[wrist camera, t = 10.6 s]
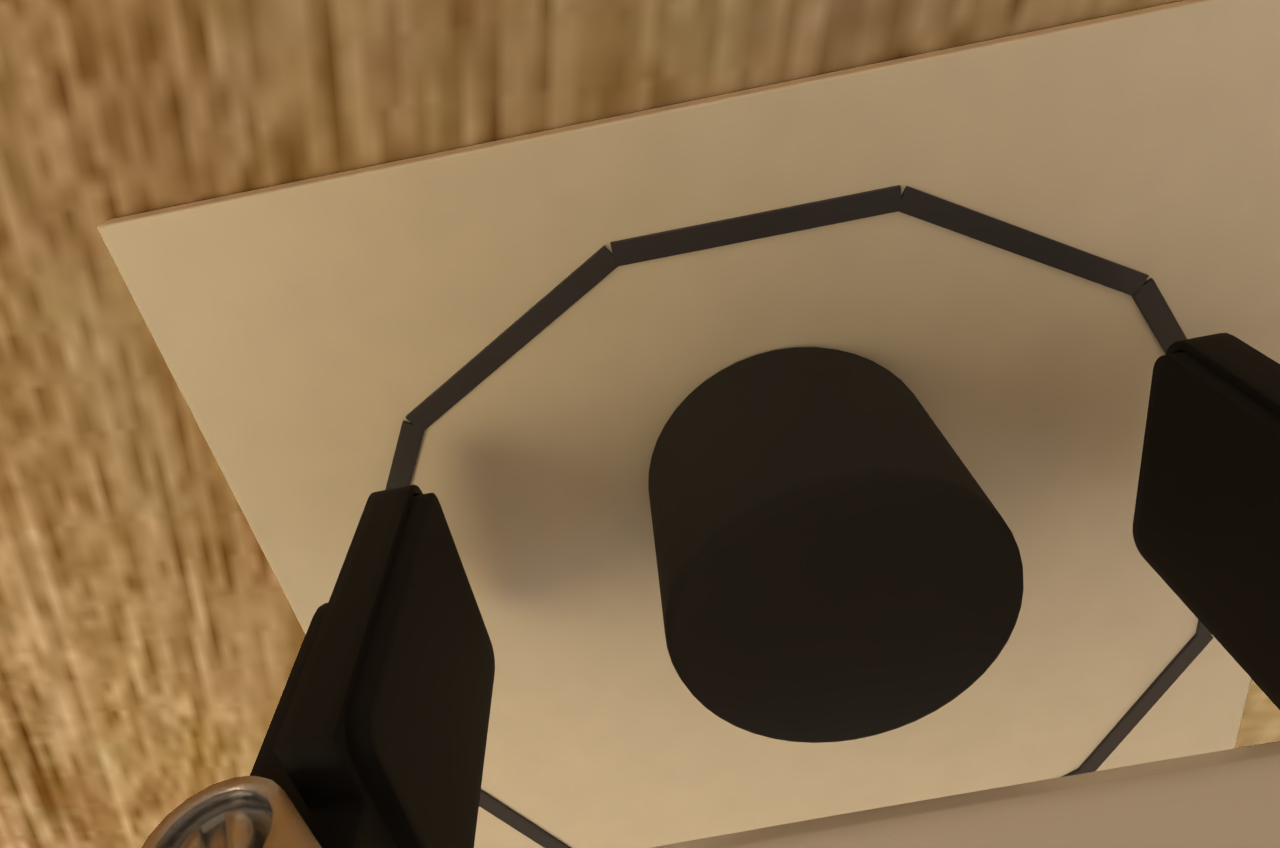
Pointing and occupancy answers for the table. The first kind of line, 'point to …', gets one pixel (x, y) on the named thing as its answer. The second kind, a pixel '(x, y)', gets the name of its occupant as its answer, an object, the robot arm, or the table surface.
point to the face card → (730, 332)
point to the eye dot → (824, 550)
